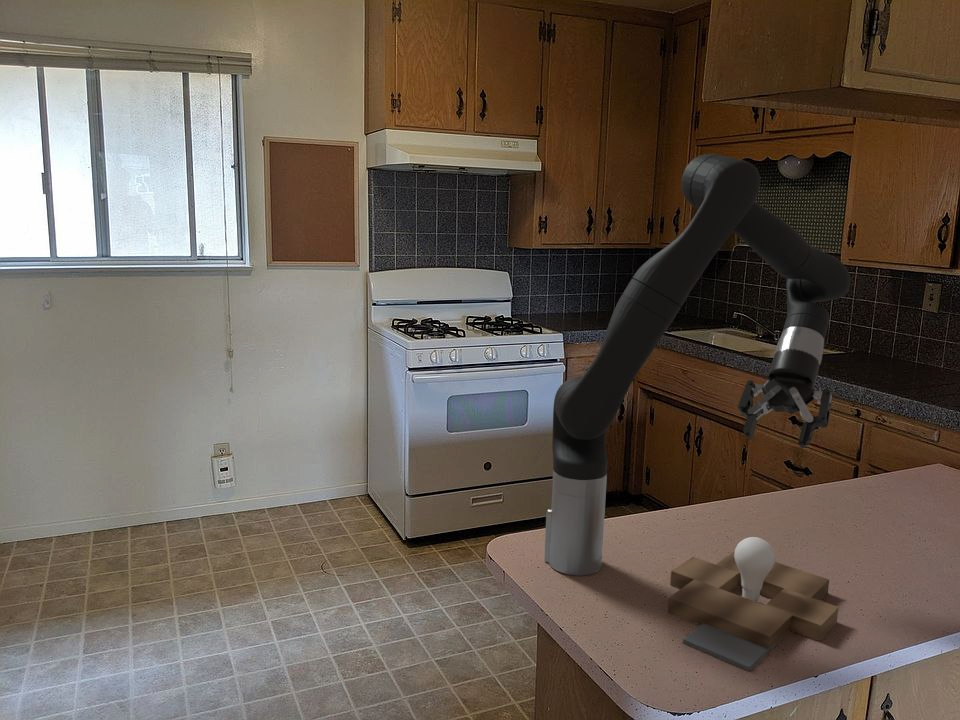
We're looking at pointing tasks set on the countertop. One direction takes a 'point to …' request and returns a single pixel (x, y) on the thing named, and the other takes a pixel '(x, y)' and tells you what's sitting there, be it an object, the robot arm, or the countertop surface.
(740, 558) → the lightbulb
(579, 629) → the countertop surface
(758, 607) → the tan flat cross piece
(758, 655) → the slate mat
